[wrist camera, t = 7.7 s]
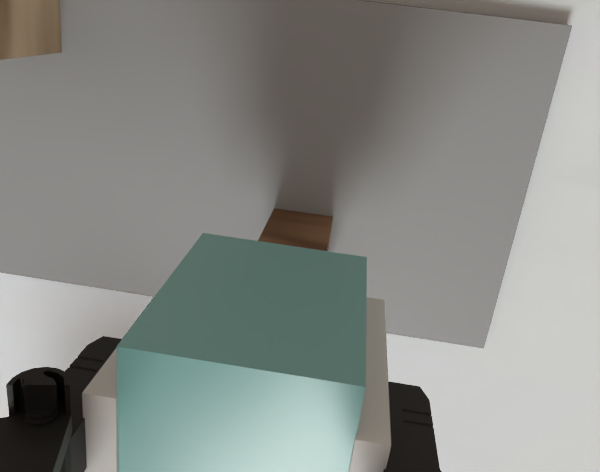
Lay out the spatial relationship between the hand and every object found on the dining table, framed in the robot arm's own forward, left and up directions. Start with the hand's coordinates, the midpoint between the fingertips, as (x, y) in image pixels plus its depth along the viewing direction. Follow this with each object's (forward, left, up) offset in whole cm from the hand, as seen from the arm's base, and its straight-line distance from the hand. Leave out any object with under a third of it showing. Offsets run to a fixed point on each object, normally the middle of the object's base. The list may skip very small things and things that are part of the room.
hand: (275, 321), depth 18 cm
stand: (-6, +3, -8) cm, 10 cm away
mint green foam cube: (0, 0, 0) cm, 0 cm away
